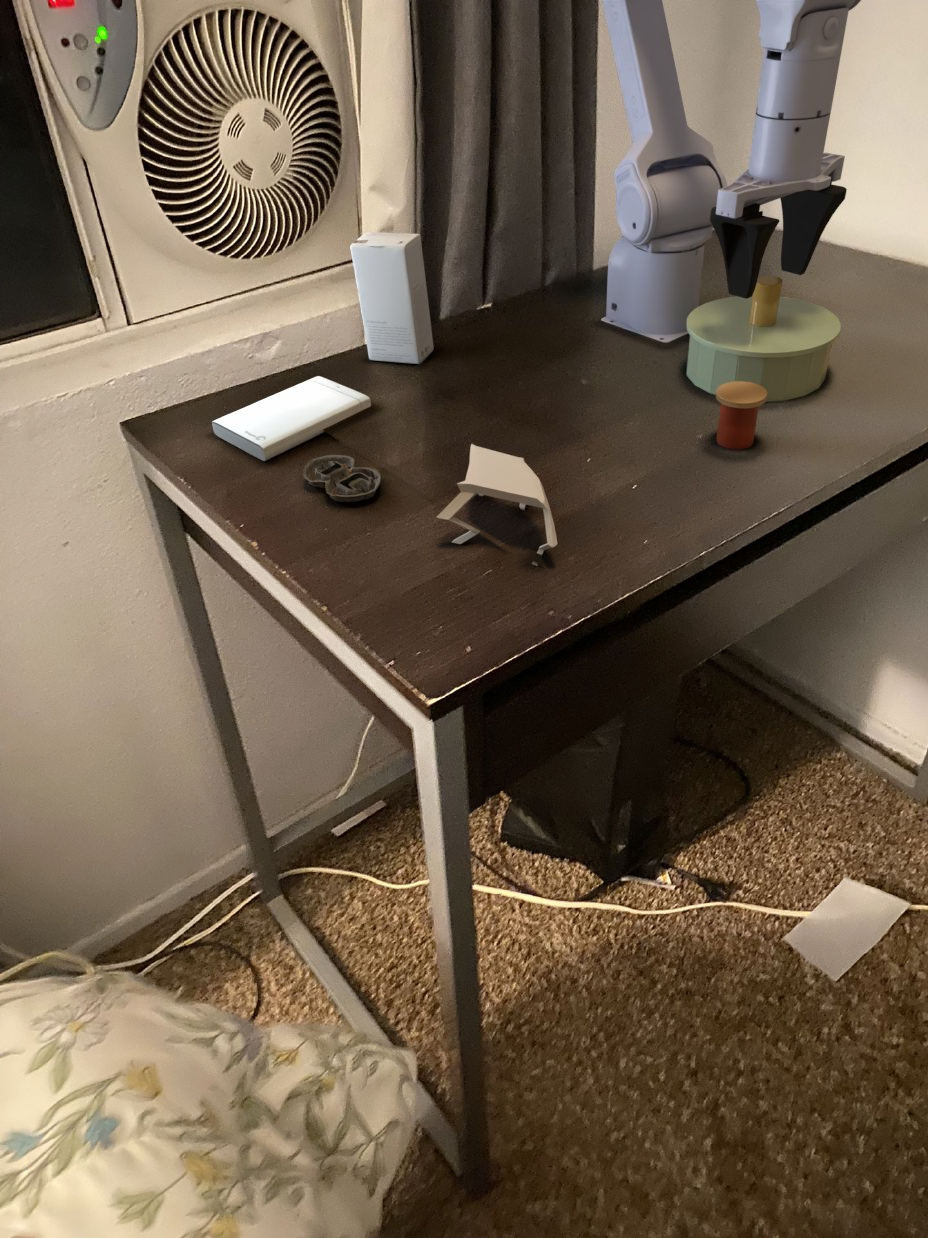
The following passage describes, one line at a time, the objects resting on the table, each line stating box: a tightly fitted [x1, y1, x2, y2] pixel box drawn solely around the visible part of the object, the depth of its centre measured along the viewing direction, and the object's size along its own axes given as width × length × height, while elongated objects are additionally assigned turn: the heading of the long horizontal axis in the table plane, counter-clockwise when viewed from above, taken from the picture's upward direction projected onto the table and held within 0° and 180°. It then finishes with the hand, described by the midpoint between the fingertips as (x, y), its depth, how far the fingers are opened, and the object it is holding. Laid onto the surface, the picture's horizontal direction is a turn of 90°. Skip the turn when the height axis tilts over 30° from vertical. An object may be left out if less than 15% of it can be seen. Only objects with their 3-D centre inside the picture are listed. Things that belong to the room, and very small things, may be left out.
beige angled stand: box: [435, 443, 558, 567], centre depth 67 cm, size 12×8×5 cm
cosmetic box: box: [349, 231, 435, 365], centre depth 92 cm, size 6×4×12 cm
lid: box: [686, 275, 842, 358], centre depth 82 cm, size 14×14×5 cm
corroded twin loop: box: [302, 454, 382, 503], centre depth 75 cm, size 5×8×1 cm, turn 45°
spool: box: [715, 381, 767, 450], centre depth 75 cm, size 4×4×5 cm
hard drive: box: [211, 375, 372, 462], centre depth 85 cm, size 2×8×12 cm
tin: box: [686, 335, 833, 403], centre depth 85 cm, size 13×13×5 cm
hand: (767, 283), depth 81 cm, fingers open, 7 cm apart
